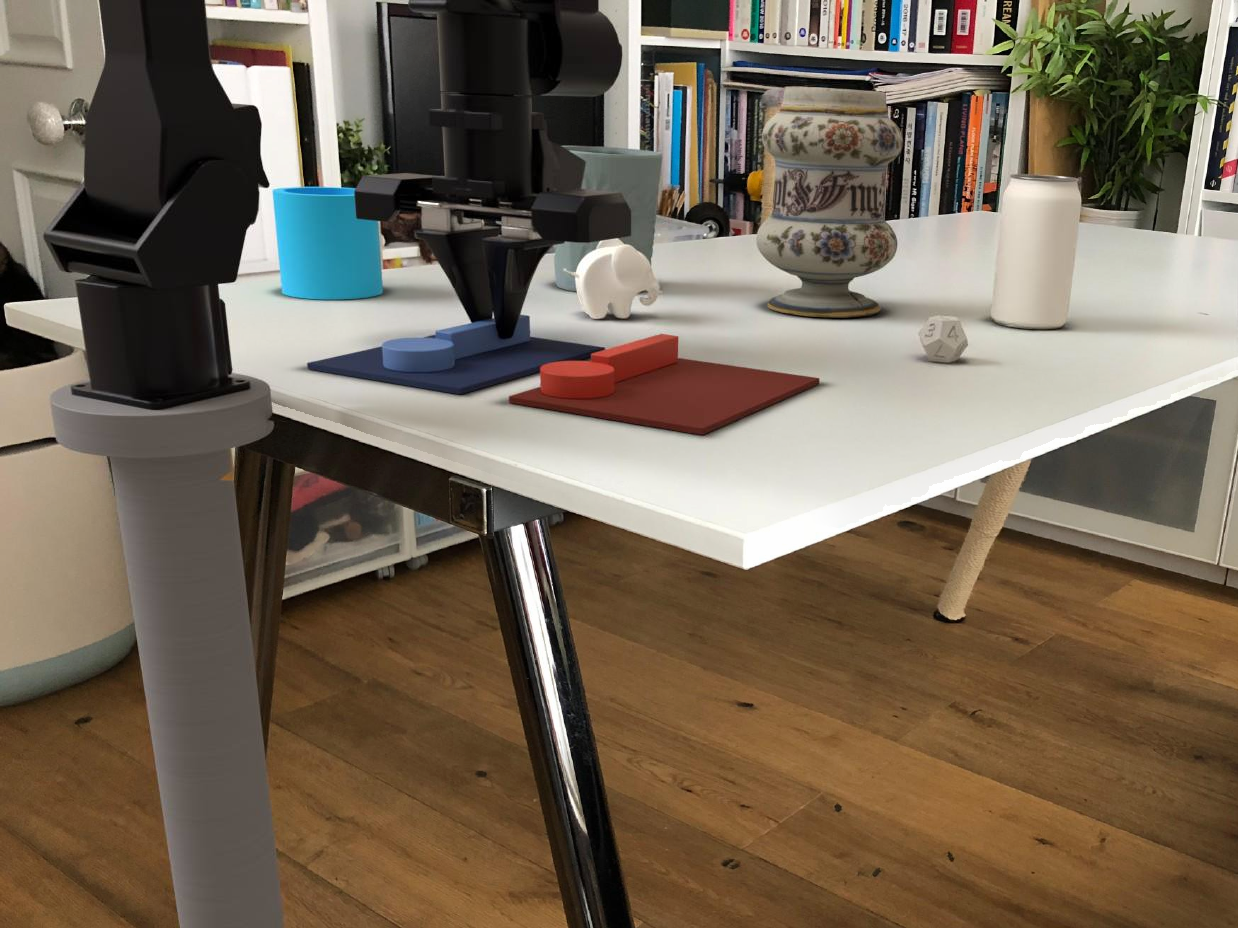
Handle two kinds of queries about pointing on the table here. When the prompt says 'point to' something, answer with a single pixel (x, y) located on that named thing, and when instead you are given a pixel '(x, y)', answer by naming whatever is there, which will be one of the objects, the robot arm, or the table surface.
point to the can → (1036, 251)
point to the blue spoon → (449, 346)
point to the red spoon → (607, 368)
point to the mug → (325, 244)
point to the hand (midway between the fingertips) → (495, 336)
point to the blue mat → (462, 365)
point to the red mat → (682, 396)
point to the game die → (943, 339)
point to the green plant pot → (639, 188)
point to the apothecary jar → (829, 197)
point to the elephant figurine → (614, 279)
